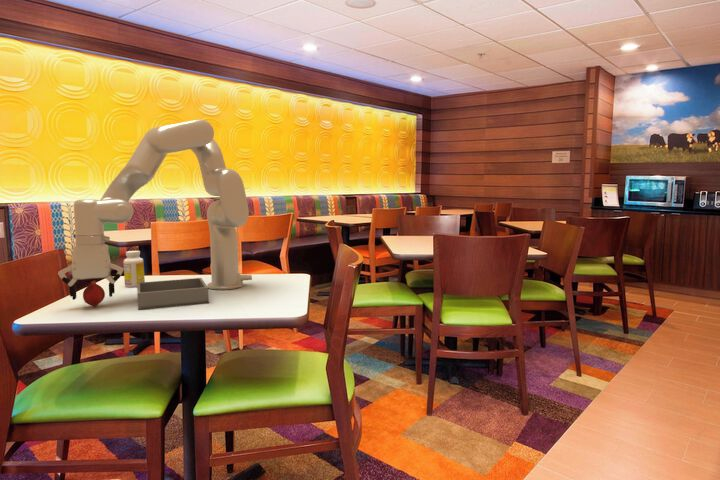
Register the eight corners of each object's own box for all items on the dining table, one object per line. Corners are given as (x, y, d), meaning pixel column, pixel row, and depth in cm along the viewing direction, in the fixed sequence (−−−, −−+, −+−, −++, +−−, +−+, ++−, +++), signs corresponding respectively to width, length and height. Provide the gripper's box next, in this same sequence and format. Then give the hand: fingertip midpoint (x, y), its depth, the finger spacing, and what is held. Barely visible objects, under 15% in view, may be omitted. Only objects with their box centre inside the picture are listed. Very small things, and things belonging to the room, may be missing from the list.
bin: (201, 292, 167) (201, 277, 166) (208, 303, 150) (208, 287, 150) (138, 297, 158) (137, 282, 158) (138, 310, 142) (137, 293, 142)
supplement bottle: (145, 283, 182) (144, 249, 181) (143, 287, 176) (142, 252, 174) (126, 284, 180) (124, 250, 179) (123, 288, 174) (121, 252, 172)
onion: (95, 309, 143) (94, 283, 142) (79, 308, 144) (77, 282, 143) (109, 305, 148) (108, 279, 148) (93, 304, 150) (91, 278, 149)
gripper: (122, 238, 151) (125, 292, 153) (58, 240, 144) (61, 297, 145) (122, 241, 144) (124, 297, 146) (54, 243, 137) (57, 302, 139)
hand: (92, 297), depth 146 cm, fingers open, 9 cm apart
